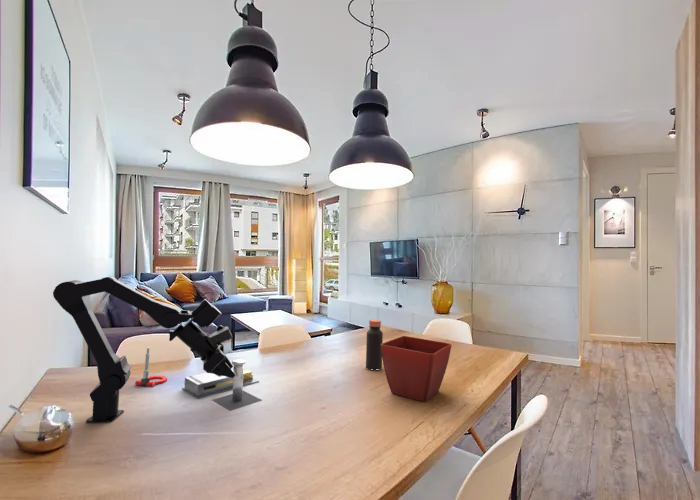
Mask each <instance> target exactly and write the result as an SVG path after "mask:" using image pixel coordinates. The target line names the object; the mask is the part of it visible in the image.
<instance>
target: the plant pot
mask: <svg viewBox="0 0 700 500" xmlns="http://www.w3.org/2000/svg"><path fill="white" fill-rule="evenodd" d="M451 350H452V343H449V342H444V341H443V342H442V341H438V340H430V339H424V338H421V337H420V338H419V337H414V336H407V335H403V336H398V337H396V338H393V339H391V340H387V341H385V342H382V344H381V352H382V366H383V368H384V374H385V377H386V381H387V384H388V387H389V390H390V392H391V393H392V394H395V395H398V396H402V397H405V398H408V399H412V400H416V401H419V402H427V401H429V400H430V399H431V398H432V397H433V396H435V395H436V394H437V393H439V391H440V388H441V387H442V386H441V385H442V382H443V380H444V378H445V374H446V372H447V367H448V363H449V359H450V357H451V356H450V355H451Z"/></svg>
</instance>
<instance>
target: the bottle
mask: <svg viewBox="0 0 700 500" xmlns="http://www.w3.org/2000/svg"><path fill="white" fill-rule="evenodd" d="M368 322H369V323H368V324H369V327H368V328H369V329H368V330H367V331H366V348H365V349H366V350H365V354H366V355H365V368H366V369H367V368H368V369H373V370H372V371H374V370H376V369H381V368H382V367H383V359H382V352H381V344H382V343H384V342H383V339H384V335H383V334H384V333H383V331H382V330H381V325H382V321H381V319H380V320H379V319H370V320H369V321H368ZM368 369H367V370H368ZM381 370H382V369H381ZM376 371H377V370H376Z"/></svg>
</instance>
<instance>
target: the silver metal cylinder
mask: <svg viewBox="0 0 700 500" xmlns="http://www.w3.org/2000/svg"><path fill="white" fill-rule="evenodd" d="M231 364H232V365H233V369H232V370H233V372H234V374H235V377H234V378H233V390H232V393H231V394H232V401H233V402H239V401H242V393H243V391H244V390H243V388H244V386H243V371H244V369H245V368H244V365H245V364H246V360H245V359H240V358H239V359H234V360H232V362H231Z"/></svg>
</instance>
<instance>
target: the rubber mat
mask: <svg viewBox="0 0 700 500" xmlns="http://www.w3.org/2000/svg"><path fill="white" fill-rule="evenodd" d="M212 401H213V402H214V403H216V404H218V405H220V406H222V407H223V408H224V409H227V410H228V411H229V412H231V411H234V410H237V409H240V408H243V407H246V406H250V405H252V404H255V403H259V402H262V401H263V399H261V398H259V397H257V396H255V395H253V394H251V393H249V392H247V391H244V390H243V393H242V401H239V402H233V401H232V393H231V394H227V395H224V396H220V397H218V398H212Z"/></svg>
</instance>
